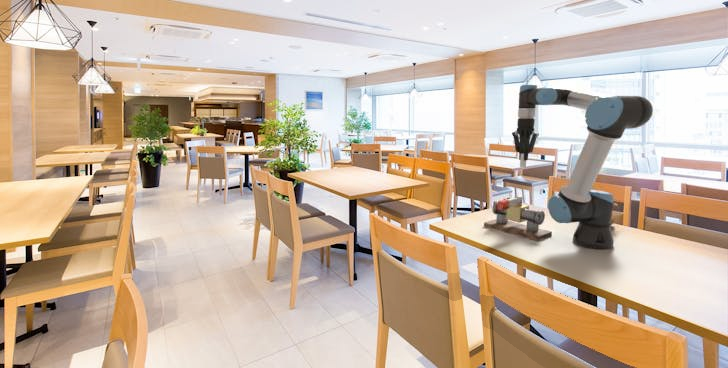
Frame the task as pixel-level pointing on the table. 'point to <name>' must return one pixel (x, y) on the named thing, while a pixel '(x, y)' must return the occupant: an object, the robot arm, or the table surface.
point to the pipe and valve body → (520, 216)
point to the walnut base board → (518, 230)
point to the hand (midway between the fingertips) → (522, 166)
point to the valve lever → (510, 203)
